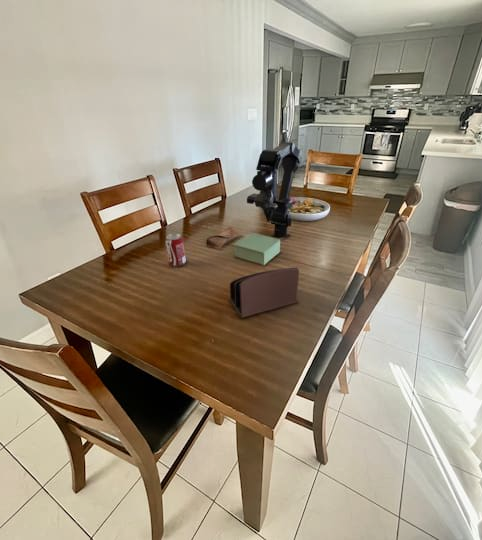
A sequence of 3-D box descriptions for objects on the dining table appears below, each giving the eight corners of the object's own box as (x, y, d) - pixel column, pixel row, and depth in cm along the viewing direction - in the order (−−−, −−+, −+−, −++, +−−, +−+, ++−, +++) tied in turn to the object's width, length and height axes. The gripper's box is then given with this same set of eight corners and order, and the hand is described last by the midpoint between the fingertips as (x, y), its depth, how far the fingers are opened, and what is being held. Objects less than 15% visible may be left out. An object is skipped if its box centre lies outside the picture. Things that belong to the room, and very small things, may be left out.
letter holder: (297, 302, 97) (300, 265, 89) (241, 319, 90) (240, 280, 83) (282, 287, 104) (284, 252, 97) (230, 301, 98) (228, 264, 90)
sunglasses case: (220, 249, 130) (213, 235, 128) (210, 253, 134) (204, 239, 133) (243, 235, 142) (237, 222, 141) (233, 239, 147) (228, 226, 146)
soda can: (189, 260, 122) (185, 234, 116) (180, 268, 116) (176, 241, 110) (174, 258, 124) (170, 232, 118) (166, 266, 118) (161, 238, 112)
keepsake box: (263, 266, 117) (264, 253, 114) (235, 257, 124) (235, 245, 121) (279, 253, 127) (280, 241, 124) (252, 245, 133) (252, 234, 131)
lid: (263, 254, 114) (263, 252, 114) (234, 245, 120) (234, 244, 120) (280, 241, 124) (280, 239, 124) (252, 234, 131) (252, 232, 130)
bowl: (336, 210, 173) (338, 197, 169) (317, 227, 151) (319, 212, 147) (289, 202, 187) (290, 190, 183) (266, 216, 165) (267, 203, 161)
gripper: (238, 185, 114) (239, 223, 122) (281, 192, 106) (279, 232, 114) (253, 179, 122) (253, 215, 130) (294, 185, 114) (291, 223, 122)
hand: (268, 221), depth 124 cm, fingers closed
